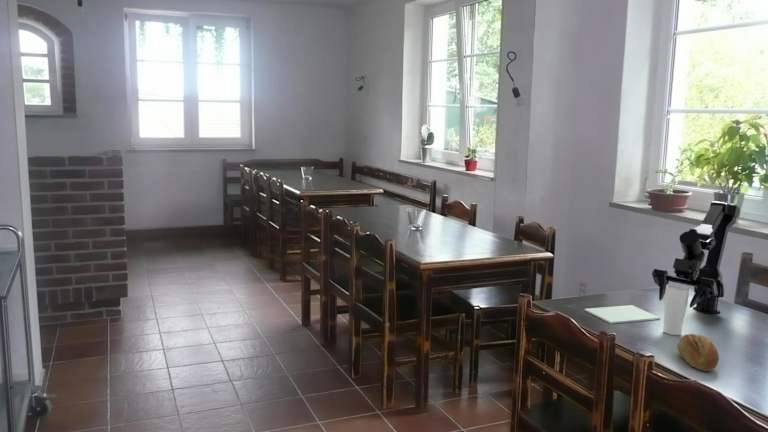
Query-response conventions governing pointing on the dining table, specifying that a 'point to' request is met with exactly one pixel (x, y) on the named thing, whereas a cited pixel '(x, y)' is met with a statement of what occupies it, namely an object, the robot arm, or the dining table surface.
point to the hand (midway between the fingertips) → (674, 303)
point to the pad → (621, 314)
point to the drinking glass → (675, 308)
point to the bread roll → (698, 351)
